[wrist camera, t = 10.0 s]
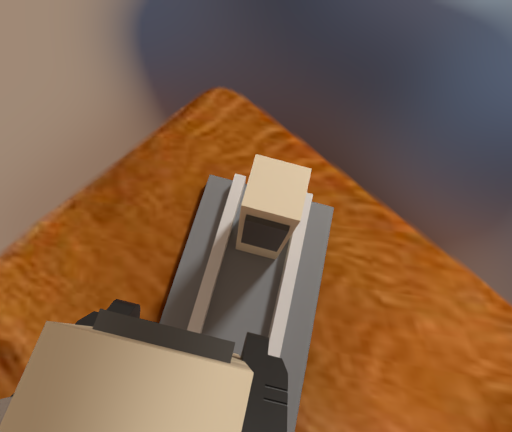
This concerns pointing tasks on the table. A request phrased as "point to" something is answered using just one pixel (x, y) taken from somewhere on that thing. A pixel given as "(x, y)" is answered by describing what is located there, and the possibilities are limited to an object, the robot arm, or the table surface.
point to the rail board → (255, 265)
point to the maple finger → (129, 380)
